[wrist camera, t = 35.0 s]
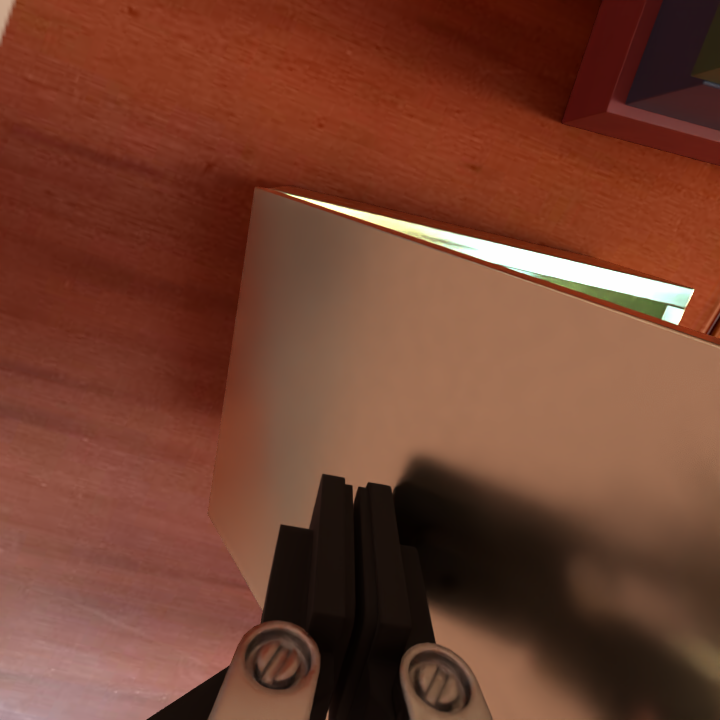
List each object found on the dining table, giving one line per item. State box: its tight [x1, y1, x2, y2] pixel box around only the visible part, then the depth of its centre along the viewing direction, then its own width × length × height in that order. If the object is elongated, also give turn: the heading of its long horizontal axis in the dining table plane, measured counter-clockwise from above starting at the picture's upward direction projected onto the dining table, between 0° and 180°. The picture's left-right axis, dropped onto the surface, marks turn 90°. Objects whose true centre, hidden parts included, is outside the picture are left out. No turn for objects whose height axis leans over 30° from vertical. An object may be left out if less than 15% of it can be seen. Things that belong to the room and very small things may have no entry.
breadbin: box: [268, 186, 694, 325], centre depth 24 cm, size 17×14×8 cm
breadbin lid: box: [207, 187, 720, 720], centre depth 13 cm, size 17×14×1 cm
